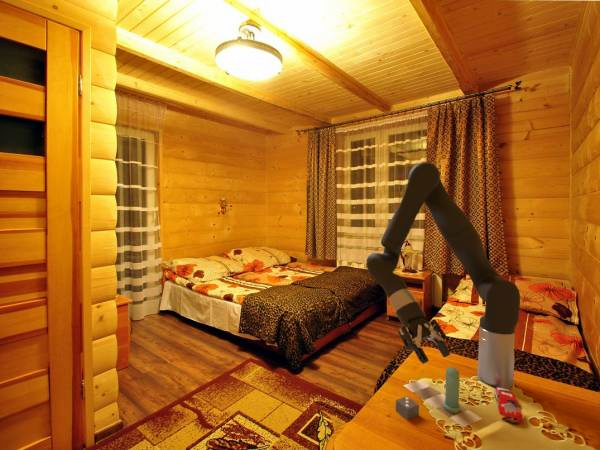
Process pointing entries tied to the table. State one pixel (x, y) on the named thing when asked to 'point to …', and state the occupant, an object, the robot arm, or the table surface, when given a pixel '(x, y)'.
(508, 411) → the race car
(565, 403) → the table surface
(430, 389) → the board
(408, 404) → the die
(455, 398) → the pawn
